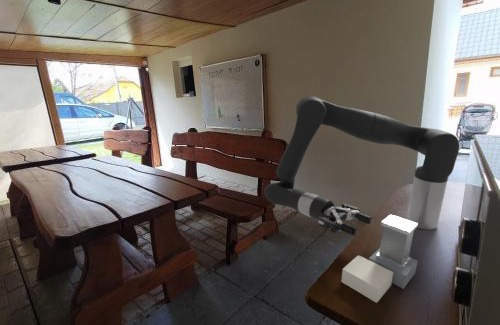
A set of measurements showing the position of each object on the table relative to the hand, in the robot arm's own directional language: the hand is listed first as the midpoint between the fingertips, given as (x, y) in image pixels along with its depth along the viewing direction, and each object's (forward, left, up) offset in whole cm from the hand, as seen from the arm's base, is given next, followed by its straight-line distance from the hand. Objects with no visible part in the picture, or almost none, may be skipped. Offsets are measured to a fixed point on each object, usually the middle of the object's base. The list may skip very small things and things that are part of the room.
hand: (363, 226), depth 73 cm
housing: (0, +9, -6) cm, 11 cm away
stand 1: (+9, +6, -10) cm, 15 cm away
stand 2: (0, +9, -10) cm, 13 cm away
